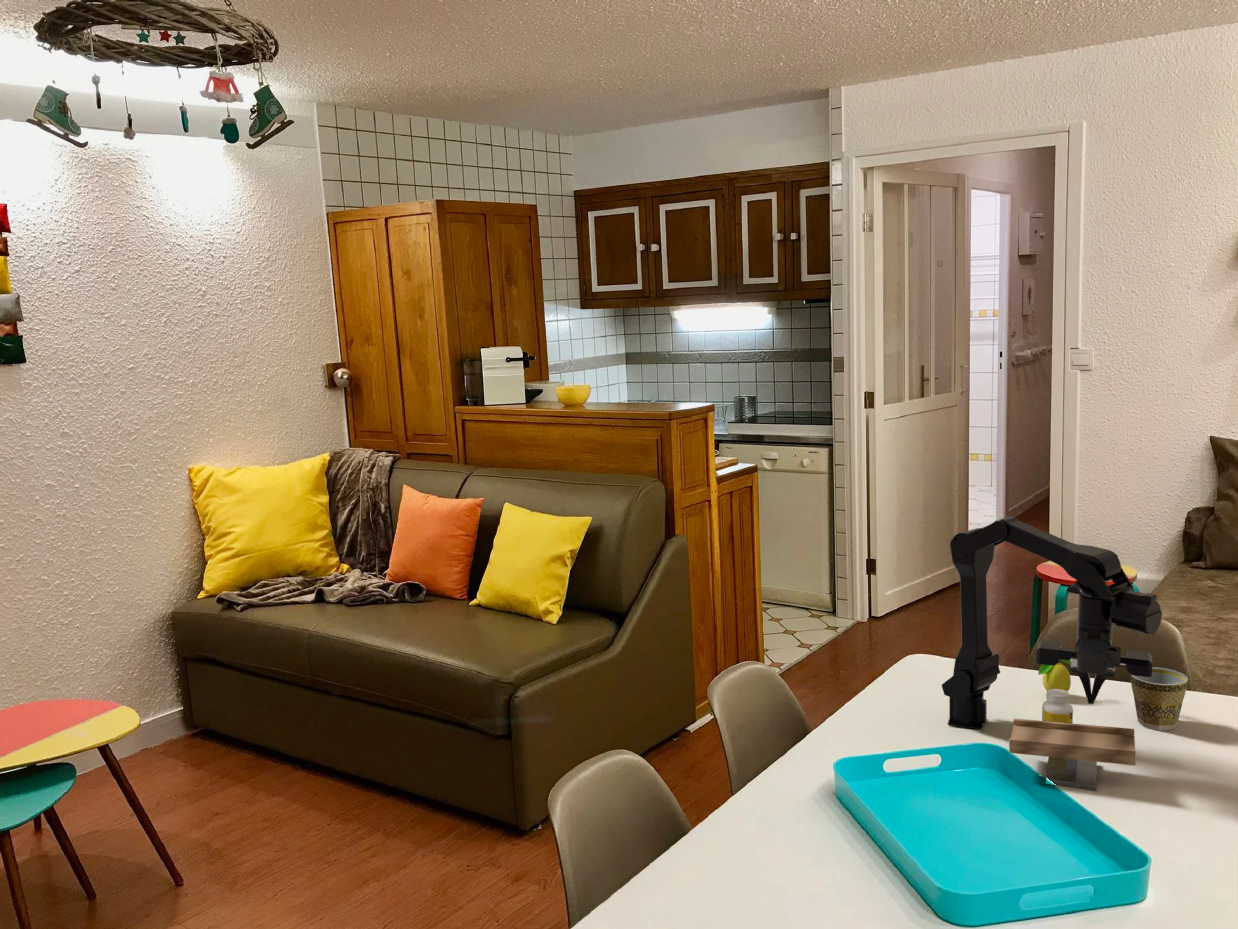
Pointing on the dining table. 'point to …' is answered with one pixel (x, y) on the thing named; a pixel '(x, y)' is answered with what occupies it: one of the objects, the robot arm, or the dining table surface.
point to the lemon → (1056, 676)
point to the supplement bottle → (1057, 707)
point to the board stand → (1072, 773)
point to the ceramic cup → (1159, 698)
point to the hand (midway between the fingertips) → (1090, 703)
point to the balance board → (1073, 741)
